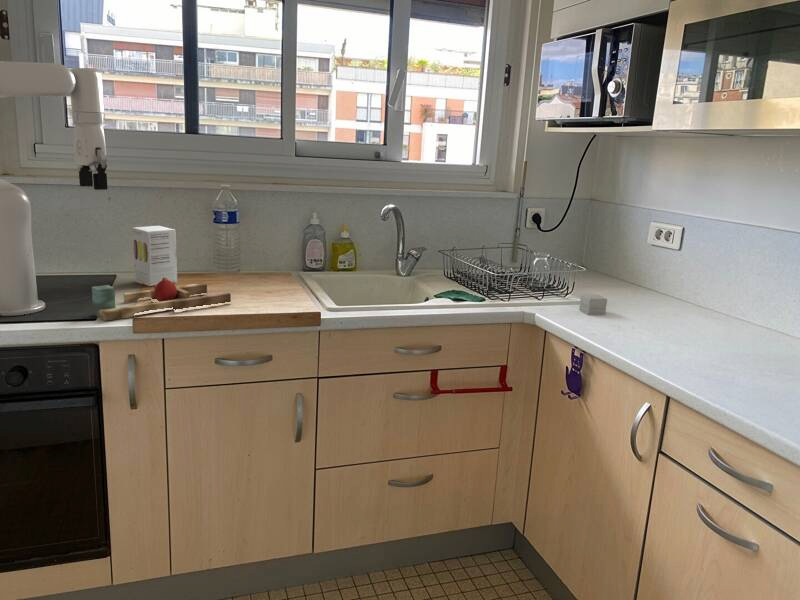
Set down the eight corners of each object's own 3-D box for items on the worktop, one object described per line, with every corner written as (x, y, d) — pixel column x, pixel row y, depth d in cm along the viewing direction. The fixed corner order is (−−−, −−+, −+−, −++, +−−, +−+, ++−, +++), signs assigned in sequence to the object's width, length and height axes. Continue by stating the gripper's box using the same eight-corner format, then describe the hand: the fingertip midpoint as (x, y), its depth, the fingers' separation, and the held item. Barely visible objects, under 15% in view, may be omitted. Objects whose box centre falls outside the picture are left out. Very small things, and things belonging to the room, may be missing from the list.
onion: (153, 304, 176) (151, 275, 174) (176, 302, 179) (174, 273, 177) (156, 309, 171) (154, 279, 169) (179, 307, 174) (177, 278, 172)
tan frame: (105, 321, 158) (103, 293, 157) (90, 312, 165) (88, 285, 163) (191, 307, 174) (190, 281, 172) (174, 299, 180) (173, 275, 179)
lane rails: (175, 313, 168) (175, 302, 168) (151, 301, 178) (151, 291, 177) (230, 304, 179) (230, 293, 179) (205, 293, 189) (204, 283, 188)
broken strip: (126, 303, 175) (125, 294, 175) (124, 302, 176) (123, 293, 176) (198, 292, 190) (198, 284, 189) (195, 291, 191) (195, 283, 190)
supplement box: (134, 281, 199) (131, 227, 195) (161, 277, 206) (159, 224, 202) (150, 287, 194) (147, 231, 189) (178, 283, 200) (176, 228, 196)
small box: (605, 315, 187) (608, 298, 186) (587, 315, 186) (589, 298, 184) (596, 310, 192) (598, 293, 191) (578, 310, 191) (580, 293, 190)
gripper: (61, 118, 169) (66, 185, 173) (86, 119, 157) (91, 191, 161) (91, 120, 174) (95, 184, 178) (117, 121, 162) (121, 190, 166)
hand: (93, 187), depth 170 cm, fingers open, 9 cm apart
